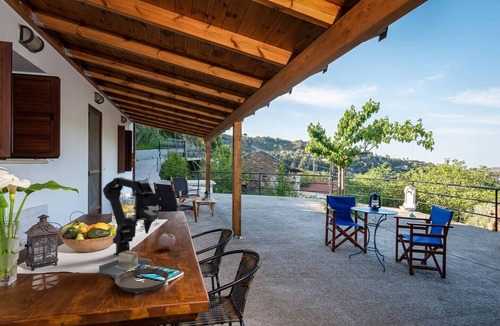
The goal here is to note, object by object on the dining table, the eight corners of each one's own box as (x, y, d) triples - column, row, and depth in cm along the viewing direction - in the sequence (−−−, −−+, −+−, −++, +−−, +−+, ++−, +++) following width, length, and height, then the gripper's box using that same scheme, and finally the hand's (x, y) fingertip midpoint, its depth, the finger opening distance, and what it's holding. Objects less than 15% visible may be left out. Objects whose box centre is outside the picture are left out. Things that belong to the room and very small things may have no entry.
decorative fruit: (155, 250, 173) (155, 232, 173) (164, 246, 181) (164, 229, 181) (168, 252, 170) (169, 234, 170) (177, 248, 177) (178, 231, 177)
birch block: (129, 268, 140) (130, 255, 140) (118, 266, 143) (118, 253, 143) (137, 265, 144) (138, 252, 144) (126, 263, 147) (126, 250, 147)
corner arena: (98, 272, 136) (99, 265, 137) (128, 261, 152) (128, 255, 152) (124, 278, 131) (124, 271, 131) (151, 266, 146) (151, 260, 146)
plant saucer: (167, 293, 117) (167, 285, 117) (109, 297, 112) (109, 288, 112) (170, 274, 137) (170, 267, 137) (121, 276, 133) (121, 269, 133)
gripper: (140, 208, 146) (139, 241, 146) (165, 204, 163) (164, 233, 163) (122, 206, 150) (121, 238, 150) (149, 202, 167) (148, 231, 167)
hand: (140, 235), depth 157 cm, fingers open, 9 cm apart
